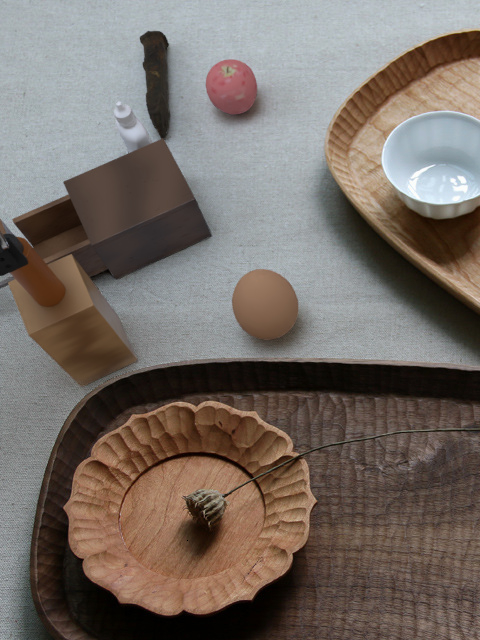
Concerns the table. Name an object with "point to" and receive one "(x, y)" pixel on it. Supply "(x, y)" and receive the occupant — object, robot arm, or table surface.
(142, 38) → the hand tool
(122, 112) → the eye dropper bottle
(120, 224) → the cabinet
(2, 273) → the robot arm
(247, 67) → the apple
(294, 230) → the table surface
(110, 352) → the block
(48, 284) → the amber bottle
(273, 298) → the egg
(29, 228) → the drawer
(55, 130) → the table surface
